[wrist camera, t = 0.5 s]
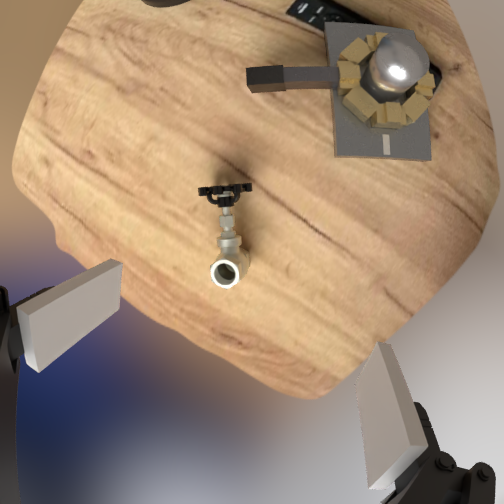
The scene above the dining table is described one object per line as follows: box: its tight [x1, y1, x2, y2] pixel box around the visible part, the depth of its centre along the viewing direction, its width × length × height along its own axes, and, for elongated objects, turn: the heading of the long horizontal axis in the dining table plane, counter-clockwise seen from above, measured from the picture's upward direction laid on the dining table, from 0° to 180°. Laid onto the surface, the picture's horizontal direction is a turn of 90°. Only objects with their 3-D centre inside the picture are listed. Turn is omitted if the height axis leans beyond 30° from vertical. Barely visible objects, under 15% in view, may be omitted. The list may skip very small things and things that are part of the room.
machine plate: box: [324, 22, 431, 162], centre depth 26 cm, size 18×12×13 cm, turn 2°
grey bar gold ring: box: [246, 32, 435, 129], centre depth 28 cm, size 11×21×4 cm, turn 92°
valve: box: [198, 183, 252, 289], centre depth 37 cm, size 7×7×12 cm
